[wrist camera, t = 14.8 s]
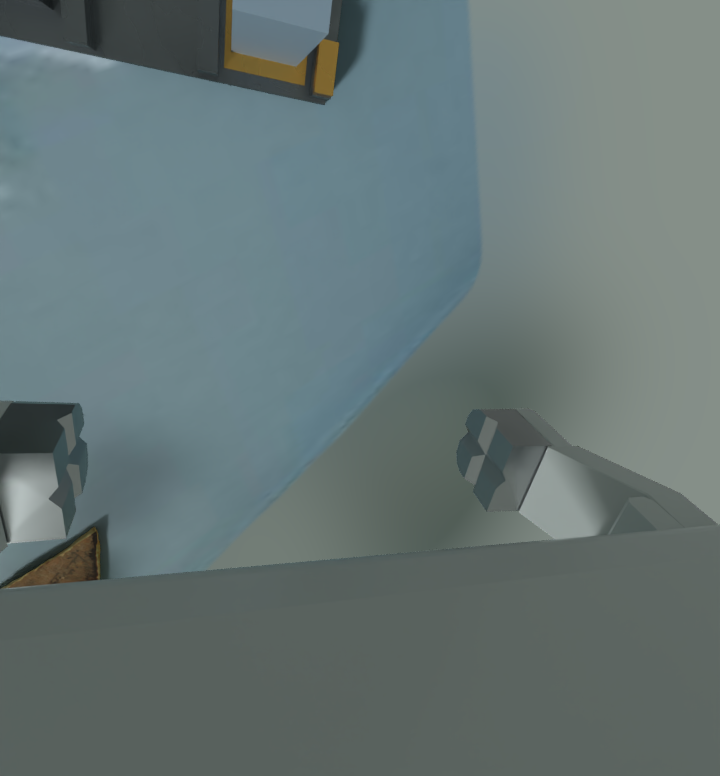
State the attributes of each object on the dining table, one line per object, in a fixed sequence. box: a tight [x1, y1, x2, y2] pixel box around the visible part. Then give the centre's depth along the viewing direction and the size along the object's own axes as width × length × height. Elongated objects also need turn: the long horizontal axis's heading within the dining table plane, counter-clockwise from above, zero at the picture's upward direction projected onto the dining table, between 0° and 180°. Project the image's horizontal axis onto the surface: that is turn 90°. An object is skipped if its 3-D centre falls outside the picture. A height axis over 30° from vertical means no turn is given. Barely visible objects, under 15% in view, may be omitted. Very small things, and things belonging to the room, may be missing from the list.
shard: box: [1, 527, 101, 589], centre depth 39 cm, size 11×8×2 cm
